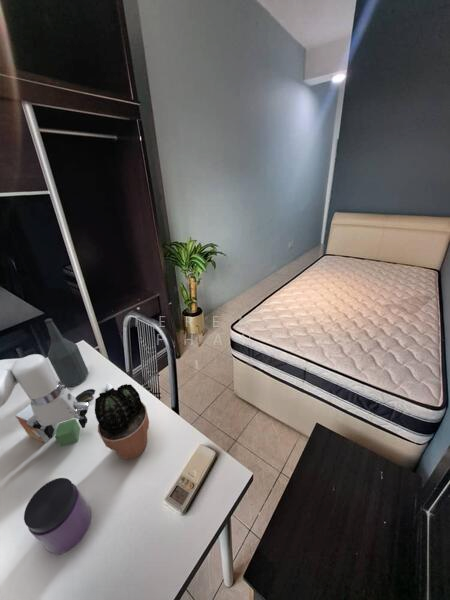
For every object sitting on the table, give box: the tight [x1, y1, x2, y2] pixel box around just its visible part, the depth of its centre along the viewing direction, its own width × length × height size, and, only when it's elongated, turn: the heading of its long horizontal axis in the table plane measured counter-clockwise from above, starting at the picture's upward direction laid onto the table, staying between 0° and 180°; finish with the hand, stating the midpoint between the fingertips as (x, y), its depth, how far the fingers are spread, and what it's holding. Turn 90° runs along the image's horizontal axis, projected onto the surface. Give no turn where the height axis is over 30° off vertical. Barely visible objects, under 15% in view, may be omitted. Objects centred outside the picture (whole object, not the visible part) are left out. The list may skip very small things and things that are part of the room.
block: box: [54, 418, 81, 447], centre depth 80 cm, size 5×5×5 cm
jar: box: [27, 482, 92, 555], centre depth 58 cm, size 10×10×12 cm
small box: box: [15, 403, 59, 444], centre depth 81 cm, size 8×6×10 cm
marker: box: [105, 382, 114, 391], centre depth 94 cm, size 18×2×2 cm, turn 40°
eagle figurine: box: [75, 388, 96, 402], centre depth 91 cm, size 8×7×9 cm
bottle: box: [44, 317, 89, 388], centre depth 98 cm, size 10×10×30 cm
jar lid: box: [23, 477, 77, 533], centre depth 55 cm, size 10×9×2 cm
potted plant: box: [94, 383, 150, 460], centre depth 72 cm, size 14×14×25 cm
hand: (68, 429), depth 80 cm, fingers open, 9 cm apart
